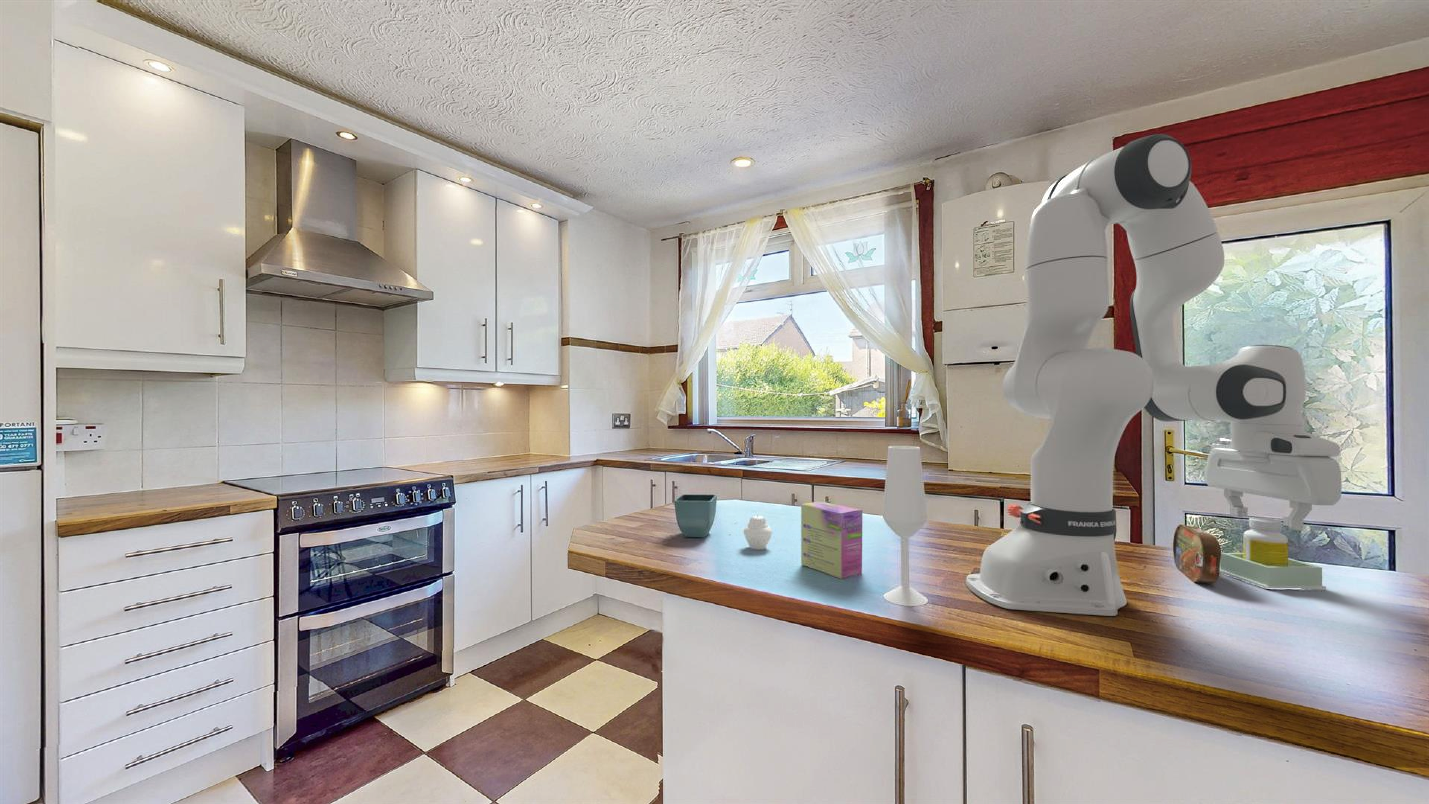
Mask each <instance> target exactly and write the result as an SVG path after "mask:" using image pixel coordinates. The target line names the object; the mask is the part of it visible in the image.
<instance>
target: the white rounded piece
mask: <svg viewBox="0 0 1429 804" xmlns="http://www.w3.org/2000/svg"><path fill="white" fill-rule="evenodd" d="M772 534H773V530H772V528H771V527H770V526H769V524H768V523H767V519H766V518H765V517H764V516H761V515H759V514H757V515H754V516H752V517H750V518H749V522H748V524H747V525H746V526H745V527H744V529H743V535H744V537H745V539H746V542H747V544H748V546H749V547H750V549H752V550H758V551H759V550H761V551H762V550H765V549H766V548H767V545H768V544H769V542H770V540H771V537H772Z"/></svg>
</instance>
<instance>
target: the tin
mask: <svg viewBox="0 0 1429 804" xmlns="http://www.w3.org/2000/svg"><path fill="white" fill-rule="evenodd" d="M1172 552H1173V553H1172V554H1173V561H1174V564H1175V567H1176V568H1177V570H1178V571H1179V572H1181V573H1182V574H1183V575H1184V574H1185V575H1184V576H1186V578H1188V579H1189V580H1190V581H1191V582H1193V583H1202V584H1209V585H1211V584H1215V583H1217V581H1218V580H1219V578H1220V576H1221V575H1220V572H1219V570H1220V558H1221V553H1222V550H1221V545H1220V543H1219V541H1218V539H1217V537H1215V536H1214V535H1212V534H1210V533H1208V532H1207V531H1205V530H1203V529H1202V528H1199V527H1197V526H1191V525H1185V524H1183V523H1182V524H1178V525H1177V527H1176V528H1175V530H1174V534H1173V541H1172Z"/></svg>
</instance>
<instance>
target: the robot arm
mask: <svg viewBox="0 0 1429 804" xmlns="http://www.w3.org/2000/svg"><path fill="white" fill-rule="evenodd" d="M1191 175H1192V161H1191V156H1190V153H1189V152H1188V150H1187V148H1186V146H1185V145H1184V144H1183V143H1182V142H1181V141H1179V140H1178V139H1176V138H1174V137H1173V136H1171V135H1168V134H1165V133H1156V134H1151V135H1146V136H1143V137H1140V138H1137V139H1135V140H1131V141H1129V142H1128V143H1127V144H1125V145H1124V146H1121V147H1120V148H1117V149H1114V150H1112V151H1109V152H1107V153H1105V154H1103V155H1099V156H1096V157H1095V158H1092V159H1090V160H1089V161H1087V162H1086V163H1084V164H1082V165H1081V166H1079V167H1078V168H1076V169H1074V170H1073V171H1071V172H1070V173H1068V174H1065V175H1062V177H1060V178H1059V179H1057V180H1056V181H1055V182H1054V183H1052V185H1051V186H1049V188H1048V189H1047V191H1046V192H1045V194H1044V195H1043V198H1042V200H1041V203H1040V205H1038V206H1037V207H1036V208H1035V209H1034V211H1033V213H1032V215H1031V218H1030V222H1029V227H1028V235H1027V239H1026V250H1025V251H1026V252H1025V254H1026V255H1025V271H1026V272H1025V273H1026V274H1025V275H1026V276H1025V277H1026V278H1025V280H1026V281H1025V282H1026V316H1025V317H1026V318H1025V322H1024V323H1025V324H1024V328H1023V329H1024V330H1023V335H1022V338H1021V342H1020V345H1019V346H1020V347H1019V349H1018V352H1017V355H1016V358H1015V361H1014V363H1013V364H1012V366H1011V367H1010V368H1009V370H1008V371H1007V372H1006V374H1005V376H1004V378H1003V384H1002V392H1003V396H1004V398H1005V400H1006V402H1007V403H1008V404H1009V406H1010V407H1012V408H1013V410H1016V411H1018V412H1021V413H1022V414H1025V415H1028V416H1032V417H1033V418H1037V419H1049V423H1048V424H1049V425H1048V427H1047V431H1046V434H1045V437H1044V438H1043V441H1042V443H1041V445H1040V446H1039V447H1038V448H1036V449H1035V450H1034V452H1032V454H1031V457H1030V462H1029V463H1030V501H1029V502H1028V503H1027V504H1026V506H1025V507H1024V508H1023V507H1022V506H1020V505H1018V504H1014V503H1010V504H1008V506H1007V507H1006V513H1007V514H1008V515H1009V516H1011V517H1014V518H1020V520H1019V524H1020V525H1018V526H1017V527H1015V528H1014V529H1013V530H1011V531H1010V532H1008V533H1006V534H1005V535H1004V536H1002V537H1001V538H999V539H998V540H996V541H995V542H993V543H992V544H990V545H988V546H987V547H986V548H985V549H984V551H983V554H982V557H981V561H980V570H979V573H971V574H968V575H967V576H966V578H965V579H966V580H965V584H966V586H967V588H968V589H969V590H970V591H971V592H972V593H974V594H975V595H976V596H978V597H980V598H981V599H982V600H984V601H986V602H988V603H990V604H993V605H996V606H998V607H1000V608H1004V609H1007V610H1016V611H1017V610H1020V611H1031V612H1035V611H1036V612H1046V613H1047V612H1048V613H1060V614H1061V613H1065V614H1076V615H1088V616H1089V615H1092V616H1093V615H1094V616H1106V617H1107V616H1108V617H1115V616H1117V615H1118V613H1119V612H1118V609H1119V610H1120V608H1123V607H1124V606H1126V605H1127V601H1128V600H1127V598H1126V595H1125V591H1124V589H1123V586H1122V582H1121V578H1120V574H1119V568H1118V563H1117V556H1116V547H1115V541H1116V537H1117V511H1116V509H1114V508H1113V503H1114V502H1113V498H1114V497H1113V493H1114V492H1113V491H1114V489H1113V487H1114V486H1113V485H1114V483H1113V481H1114V462H1115V456H1116V452H1117V448H1118V446H1119V444H1120V443H1119V442H1120V440H1121V438H1122V435H1123V434H1124V431H1125V429H1126V427H1127V425H1128V424H1129V422H1130V421H1131V420H1132V419H1133V417H1135V416H1136V415H1137V414H1138V413H1139V412H1140V411H1142V410H1143V409H1144V410H1145V411H1146V412H1147V414H1149V415H1150V416H1151V417H1153V418H1154V419H1155V420H1158V421H1161V422H1167V423H1168V422H1169V423H1170V422H1183V421H1186V422H1187V421H1200V422H1201V421H1203V422H1206V421H1208V422H1216V421H1217V422H1218V421H1220V422H1230V423H1231V424H1230V438H1226V437H1222V438H1218V439H1217V440H1215V441H1214V442H1213V443H1212V444H1211V446H1210V451H1209V453H1208V454H1207V455H1208V456H1207V460H1206V465H1205V466H1206V467H1205V474H1204V481H1205V483H1206V485H1207V486H1208V487H1210V488H1216V489H1222V490H1223V496H1224V498H1225V499H1226V502H1227V504H1228V506H1229V507H1230V508H1229V510H1230V511H1229V514H1230V515H1231V516H1232V517H1237V518H1247V517H1248V512H1249V511H1248V510H1249V507H1246V506H1244V504H1243V501H1242V497H1244V494H1250V495H1255V496H1262V497H1267V498H1272V499H1273V498H1274V499H1278V500H1279V499H1280V500H1283V501H1284V500H1285V501H1288V502H1289V505H1288V506H1289V508H1290V509H1292V510H1291V512H1290V513H1289V515H1288V516H1282V528H1286V529H1290V530H1294V531H1295V530H1297V531H1302V530H1303V528H1304V520H1305V519H1306V518H1307V516H1308V515H1309V514H1310V513H1311V511H1312V509H1313V506H1335V505H1336V504H1337V503H1338V502H1340V500H1341V498H1342V486H1343V485H1342V483H1343V482H1342V470H1341V466H1340V464H1339V462H1338V461H1337V460H1336V459H1335V458H1334V457H1339V455H1340V453H1341V447H1340V444H1338V443H1337V442H1335V441H1332V440H1328V439H1325V438H1323V437H1320V436H1317V435H1315V434H1313V433H1310V432H1306V431H1305V429H1306V426H1305V419H1304V417H1303V412H1302V410H1303V407H1304V403H1305V401H1306V392H1307V391H1306V390H1307V389H1306V374H1305V367H1304V363H1303V362H1304V361H1303V358H1302V356H1301V353H1300V352H1299V351H1298V350H1297V349H1294V348H1292V347H1289V346H1285V345H1277V344H1276V345H1273V344H1272V345H1271V344H1254V345H1253V344H1252V345H1247V346H1243V347H1241V348H1239V349H1238V352H1237V354H1236V355H1235V356H1232V357H1231V358H1229V359H1226V360H1224V361H1221V362H1218V363H1217V364H1216V363H1215V364H1208V365H1193V366H1186V365H1185V364H1183V363H1182V362H1181V361H1180V360H1179V357H1178V351H1177V345H1176V336H1175V332H1174V323H1173V321H1174V318H1175V315H1176V313H1177V311H1178V310H1179V308H1180V307H1182V306H1183V305H1185V304H1186V303H1188V302H1189V301H1191V300H1193V298H1196V297H1197V296H1199V295H1200V294H1201V293H1204V291H1206V290H1207V289H1208V288H1210V286H1212V285H1213V284H1214V283H1215V281H1216V280H1217V279H1218V277H1219V276H1220V274H1221V273H1222V271H1223V269H1224V266H1225V251H1224V246H1223V243H1222V240H1221V237H1220V234H1219V231H1218V229H1217V226H1216V223H1215V220H1214V218H1213V215H1212V213H1211V211H1210V210H1209V207H1208V205H1207V204H1206V201H1205V200H1204V198H1203V197H1202V195H1201V193H1200V192H1199V190H1198V188H1197V187H1196V186H1195V184H1194V183H1193V182H1192V181H1191V177H1192V176H1191ZM1116 224H1118V225H1119V226H1120V227H1122V228H1123V230H1125V231H1126V235H1127V241H1128V246H1129V250H1130V253H1131V256H1132V257H1131V258H1132V259H1133V262H1134V266H1135V273H1136V285H1135V289H1134V291H1133V292H1131V293H1132V294H1131V296H1130V299H1129V312H1130V313H1129V314H1130V322H1131V328H1132V334H1133V335H1132V336H1133V339H1134V347H1135V352H1136V353H1134V352H1132V351H1127V350H1122V349H1121V350H1120V349H1114V348H1106V347H1094V348H1093V347H1092V348H1088V346H1089V343H1090V340H1091V337H1092V334H1093V332H1094V331H1095V328H1096V326H1097V325H1098V324H1099V322H1100V321H1101V320H1102V319H1103V318H1104V317H1105V316H1106V314H1107V312H1108V310H1109V306H1110V295H1109V293H1110V291H1109V290H1110V289H1109V263H1108V262H1109V261H1108V258H1109V257H1108V256H1109V255H1108V246H1107V245H1108V243H1107V237H1106V229H1107V227H1108V226H1110V225H1116Z"/></svg>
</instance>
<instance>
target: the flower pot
mask: <svg viewBox="0 0 1429 804" xmlns="http://www.w3.org/2000/svg"><path fill="white" fill-rule="evenodd" d="M717 497H718V495H717V494H707V493H706V494H695V493H694V494H692V493H691V494H686V493H685V494H684V493H683V494H681V495H680V496H678V497H677V498H676V499H674V500H673V504H674V512H675V519H676V522H677V526H678V529H679V530H680V532H681V534H682V536H684V538H703V539H704V538H706V537H707V536H708V534H709V533H710V531H711V529H712V526H713V525H714V521H715V518H716V511H717Z"/></svg>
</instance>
